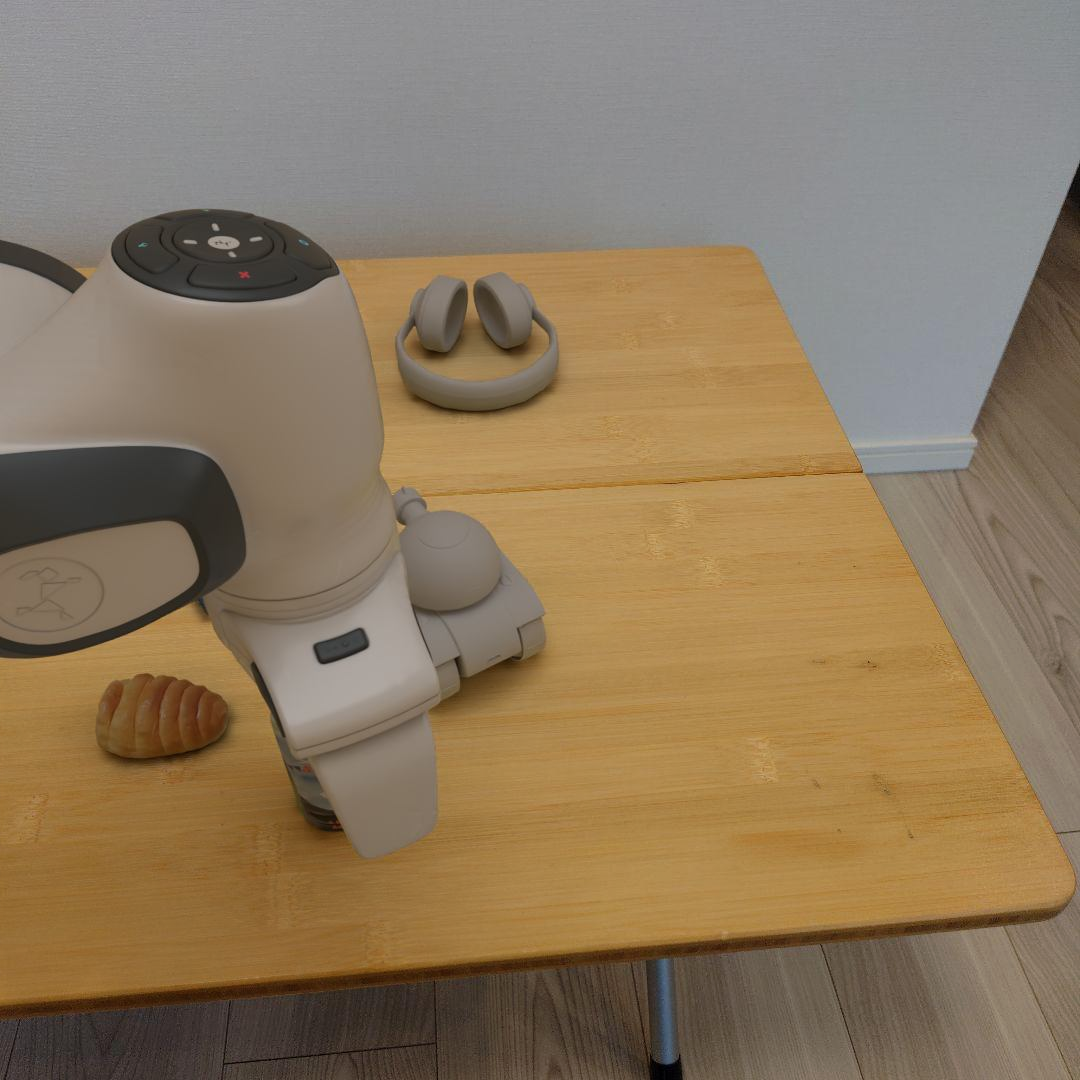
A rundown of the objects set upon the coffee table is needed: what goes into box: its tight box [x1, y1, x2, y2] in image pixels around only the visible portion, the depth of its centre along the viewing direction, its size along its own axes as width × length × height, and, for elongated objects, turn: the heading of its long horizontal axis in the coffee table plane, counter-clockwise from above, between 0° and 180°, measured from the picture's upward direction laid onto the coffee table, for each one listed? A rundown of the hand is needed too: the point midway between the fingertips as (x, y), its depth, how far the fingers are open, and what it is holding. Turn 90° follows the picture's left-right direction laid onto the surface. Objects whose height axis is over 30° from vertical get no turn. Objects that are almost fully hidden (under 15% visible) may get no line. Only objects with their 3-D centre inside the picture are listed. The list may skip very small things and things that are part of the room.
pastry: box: [95, 672, 229, 760], centre depth 73 cm, size 9×7×4 cm
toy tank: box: [392, 485, 547, 702], centre depth 76 cm, size 15×11×13 cm
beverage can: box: [269, 712, 344, 833], centre depth 65 cm, size 6×7×12 cm
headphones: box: [394, 271, 560, 412], centre depth 108 cm, size 18×8×20 cm
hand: (345, 743), depth 52 cm, fingers closed
